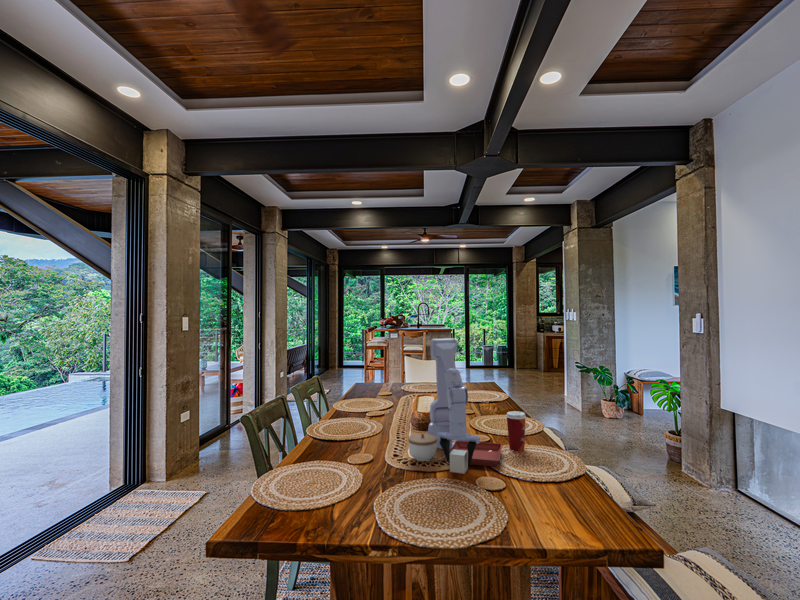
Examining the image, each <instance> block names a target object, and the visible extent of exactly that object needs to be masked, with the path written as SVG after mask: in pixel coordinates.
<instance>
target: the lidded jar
mask: <svg viewBox="0 0 800 600" xmlns="http://www.w3.org/2000/svg"><path fill="white" fill-rule="evenodd" d="M407 441H408V449H409V453H410V454H411V457H413V459H414V460H415V459H416V460H417V462H419V461H427V462H429V461H432V459H433V457H435V455H436V453H437V449H438V448H437V437H436V436H434V435H431V434H428V433H424V432H421V433H415V434H411V435H410V436H409V437H408V440H407ZM416 460H415V461H416Z"/></svg>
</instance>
